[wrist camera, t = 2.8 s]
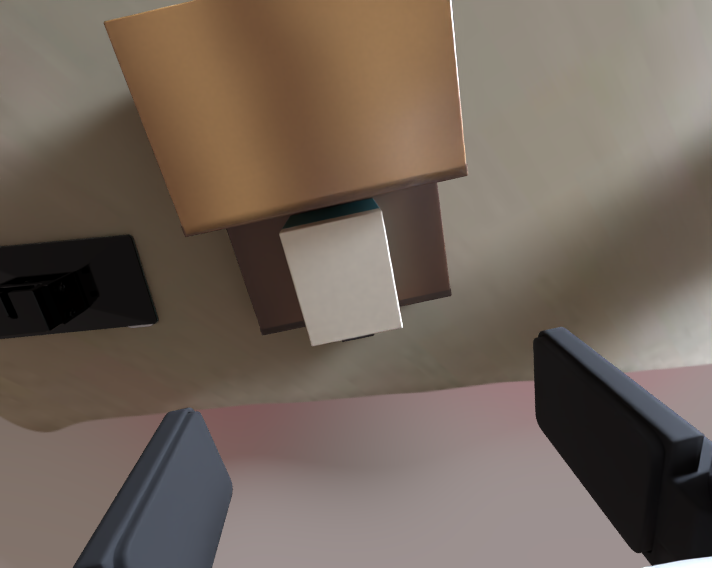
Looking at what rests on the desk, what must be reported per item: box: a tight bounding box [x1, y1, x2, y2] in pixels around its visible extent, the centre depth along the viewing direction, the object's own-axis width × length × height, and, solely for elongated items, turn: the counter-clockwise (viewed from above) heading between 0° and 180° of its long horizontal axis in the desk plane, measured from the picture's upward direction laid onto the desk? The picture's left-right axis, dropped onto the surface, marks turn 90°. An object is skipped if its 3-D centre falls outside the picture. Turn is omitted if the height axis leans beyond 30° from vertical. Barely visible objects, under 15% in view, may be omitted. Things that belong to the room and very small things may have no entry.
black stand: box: [0, 235, 158, 339], centre depth 25 cm, size 12×7×5 cm, turn 95°
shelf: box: [104, 0, 468, 335], centre depth 22 cm, size 14×18×8 cm
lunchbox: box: [279, 198, 403, 346], centre depth 23 cm, size 6×7×5 cm
